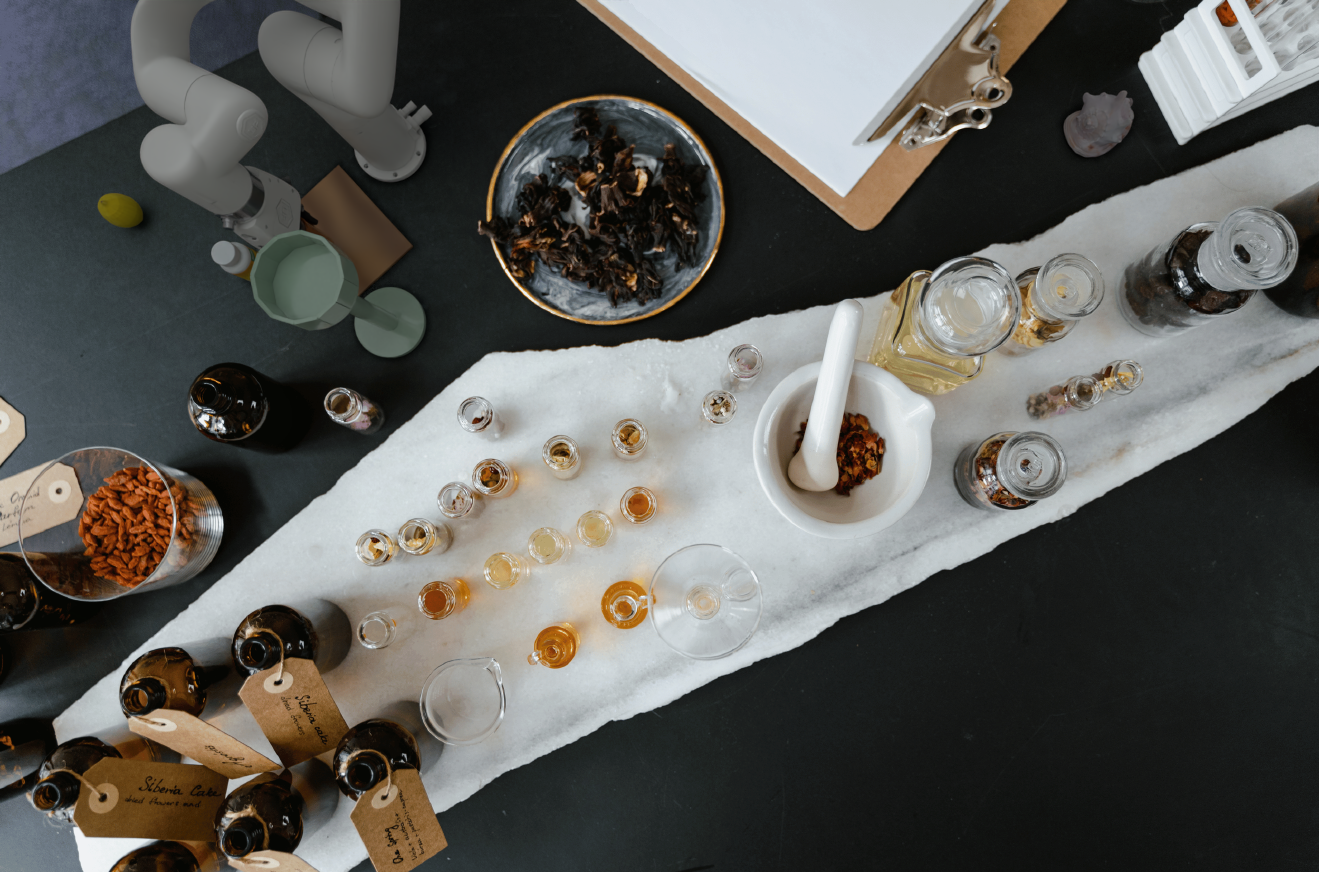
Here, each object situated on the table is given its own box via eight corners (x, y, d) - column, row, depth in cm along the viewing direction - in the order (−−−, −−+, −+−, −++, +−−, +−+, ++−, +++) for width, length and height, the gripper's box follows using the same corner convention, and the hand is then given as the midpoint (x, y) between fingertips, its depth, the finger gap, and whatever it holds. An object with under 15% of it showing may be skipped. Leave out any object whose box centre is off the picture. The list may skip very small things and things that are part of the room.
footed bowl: (394, 274, 117) (300, 211, 88) (440, 324, 117) (361, 279, 88) (342, 321, 117) (232, 274, 88) (388, 372, 117) (292, 342, 88)
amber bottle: (321, 227, 112) (290, 205, 103) (340, 247, 112) (310, 227, 103) (300, 246, 112) (267, 226, 103) (319, 266, 112) (287, 248, 103)
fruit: (131, 199, 119) (92, 180, 111) (159, 209, 119) (121, 191, 111) (119, 227, 119) (79, 210, 111) (147, 238, 119) (109, 222, 111)
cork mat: (340, 166, 118) (338, 164, 118) (413, 246, 117) (412, 245, 117) (257, 241, 118) (255, 240, 118) (330, 323, 117) (328, 322, 117)
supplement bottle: (238, 267, 118) (200, 250, 109) (262, 248, 118) (225, 229, 109) (257, 290, 118) (219, 275, 108) (280, 271, 118) (245, 254, 108)
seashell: (1050, 116, 115) (1083, 85, 106) (1112, 84, 115) (1150, 51, 105) (1078, 167, 114) (1114, 140, 105) (1141, 135, 114) (1182, 106, 105)
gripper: (256, 255, 90) (327, 291, 108) (265, 132, 90) (334, 189, 109) (202, 253, 90) (282, 289, 108) (211, 131, 91) (289, 187, 109)
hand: (307, 238), depth 108 cm, fingers closed on amber bottle, 4 cm apart
